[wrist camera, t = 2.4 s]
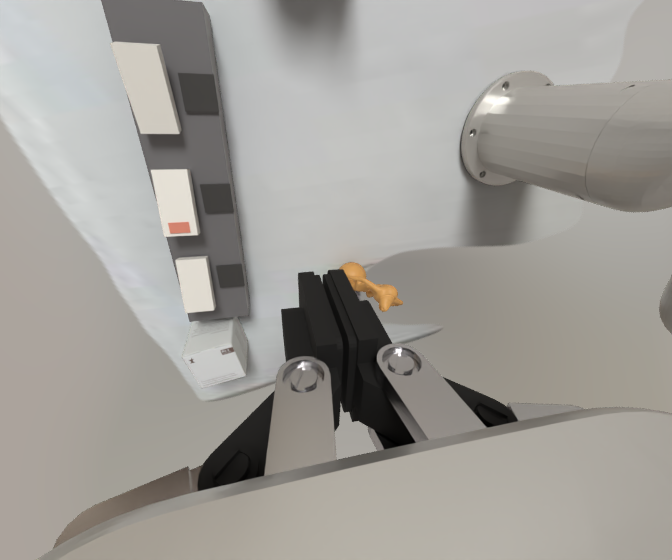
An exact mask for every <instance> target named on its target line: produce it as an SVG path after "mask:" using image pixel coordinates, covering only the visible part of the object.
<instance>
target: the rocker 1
mask: <svg viewBox="0 0 672 560" xmlns="http://www.w3.org/2000/svg"><path fill="white" fill-rule="evenodd" d="M110 45H111V48H112V50H113V53H114V56H115V59H116V62H117V65H118V68H119V71H120V74H121V77H122V80H123V83H124V86H125V89H126V92H127V95H128V97H129V100H130V103H131V106H132V109H133V112H134V115H135V118H136V121H137V124H138V127H139V130H140V133H141V134H180V132H181V130H182V129H181V125H180V121H179V117H178V113H177V109H176V105H175V101H174V97H173V93H172V89H171V86H170V82H169V78H168V74H167V70H166V66H165V62H164V58H163V54H162V50H161V46H160V44H146V43H130V42H113V43H110Z"/></svg>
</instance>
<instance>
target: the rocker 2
mask: <svg viewBox="0 0 672 560" xmlns="http://www.w3.org/2000/svg"><path fill="white" fill-rule="evenodd" d="M151 174H152V179H153V184H154V189H155V194H156V199H157V204H158V209H159V214H160V219H161V224H162V229H163V234H164V237H171V236H190V235H199V234H200V228H199V222H198V216H197V210H196V203H195V197H194V191H193V185H192V179H191V173H190V170H189V169H168V170H151Z"/></svg>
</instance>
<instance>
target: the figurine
mask: <svg viewBox="0 0 672 560" xmlns="http://www.w3.org/2000/svg"><path fill="white" fill-rule="evenodd" d="M340 269H343V270H344V272H345V274H346V276H347V278H348V280H349V281H350V283H351V285H352V287H353V289H354V291H358V292H360V291H363V292H366V295H367V297H374V299H375V300H376V301H377V302H378V303H379V309H380V310H381V311H382V312H385V311H387V310H388V309H389V307H390V306H398V305H402V304H403V302H402V301H401V300H400V299H398V298H397V295H398V292H397V290H396V288H395V287H393V286H391V285H380V284H377V285H375V284H374V283H372V282H371V281H369V280H367V279H366V272H365V270H364V268H363V267H362V266H361V265H359V264H357V263H354V262H349V263H346V264H344V265H343V266H341V267H340Z"/></svg>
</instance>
